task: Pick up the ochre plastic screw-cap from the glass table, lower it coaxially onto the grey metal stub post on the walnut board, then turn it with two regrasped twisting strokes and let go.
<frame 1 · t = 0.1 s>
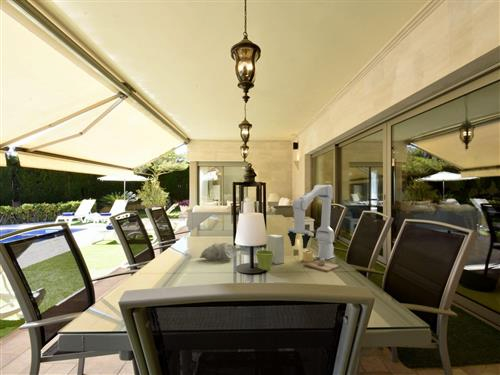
hand: (298, 247, 151), 10 cm above the table, fingers open, 7 cm apart
post board: (321, 266, 151), on the table
cap: (307, 260, 162), on the table
skincare box: (275, 262, 157), on the table
seashell: (218, 260, 157), on the table
plant pot: (264, 269, 143), on the table
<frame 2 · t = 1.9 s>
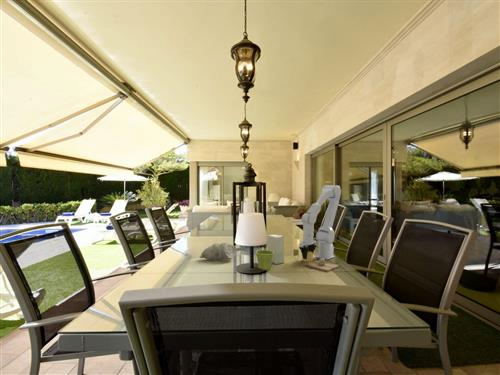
hand: (307, 258, 162), 1 cm above the table, fingers closed on cap, 5 cm apart
cap: (307, 260, 162), on the table, touching gripper
everything else where it was.
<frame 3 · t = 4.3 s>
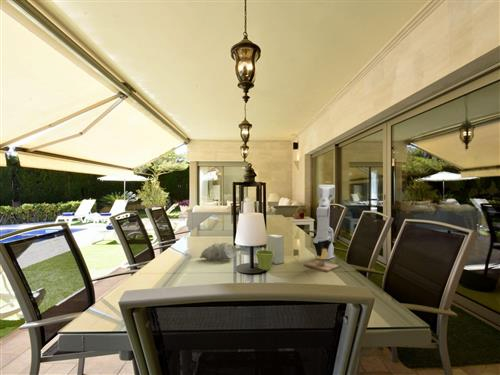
hand: (321, 254, 151), 6 cm above the table, fingers closed on cap, 5 cm apart
cap: (321, 257, 151), point 5 cm above the table, touching gripper
everything else where it was.
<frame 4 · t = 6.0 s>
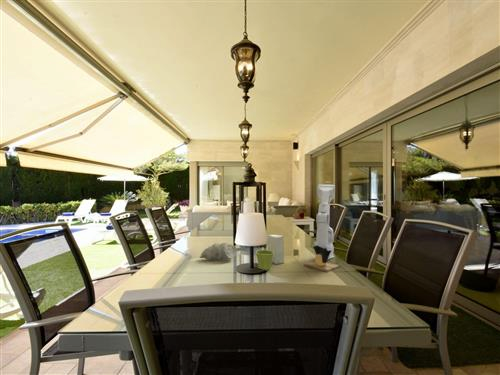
hand: (321, 261, 151), 3 cm above the table, fingers closed on cap, 5 cm apart
cap: (321, 264, 150), point 1 cm above the table, touching gripper
everything else where it was.
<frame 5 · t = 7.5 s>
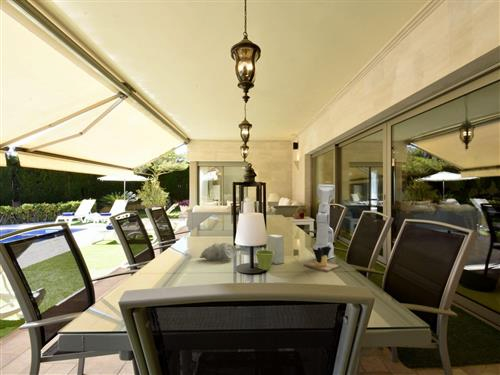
hand: (321, 261, 151), 3 cm above the table, fingers closed on cap, 6 cm apart
cap: (321, 264, 151), point 1 cm above the table, touching gripper
everything else where it was.
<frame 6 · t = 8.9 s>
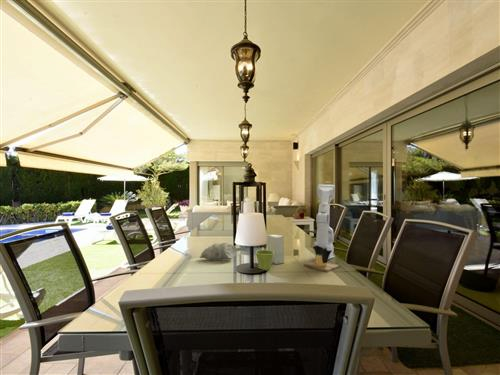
hand: (321, 261, 151), 3 cm above the table, fingers closed on cap, 6 cm apart
cap: (321, 264, 151), point 1 cm above the table, touching gripper
everything else where it was.
when the fingers open (3 cm above the table, at t = 9.9 s): cap stays where it is, resting on post board.
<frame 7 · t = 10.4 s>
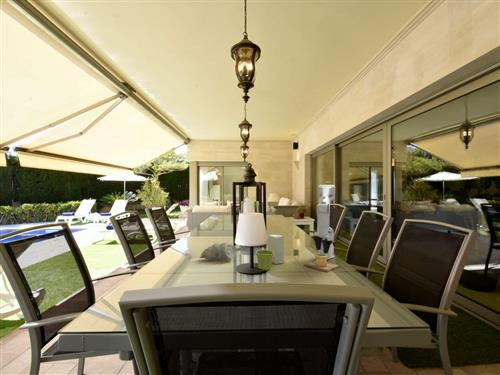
hand: (322, 251, 151), 8 cm above the table, fingers open, 7 cm apart
cap: (321, 264, 151), point 1 cm above the table, touching post board
everything else where it was.
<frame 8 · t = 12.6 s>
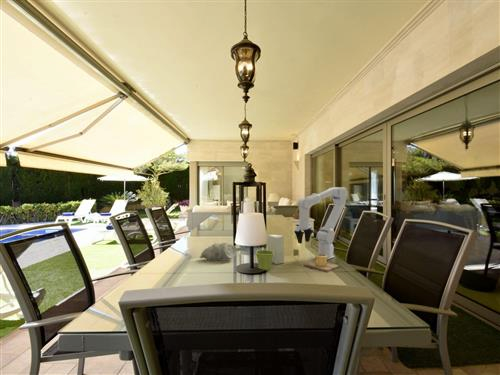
hand: (303, 242, 165), 10 cm above the table, fingers open, 7 cm apart
nothing on the table moved.
at the end: cap 0.1 cm off-centre on the post board, point 1.0 cm above the post board's base; cap tilted 0°; the gripper is holding nothing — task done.
